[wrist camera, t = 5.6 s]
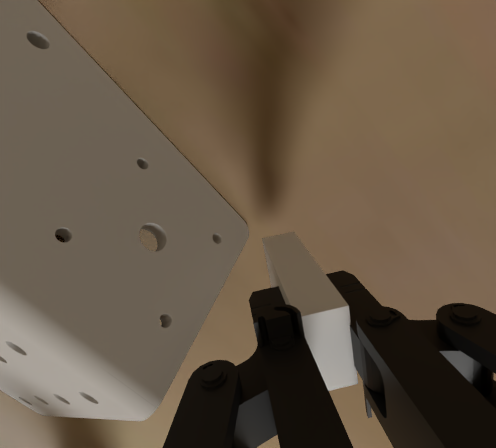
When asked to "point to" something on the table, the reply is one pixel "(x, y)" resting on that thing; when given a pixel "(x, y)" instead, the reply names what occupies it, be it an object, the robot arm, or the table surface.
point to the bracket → (95, 234)
